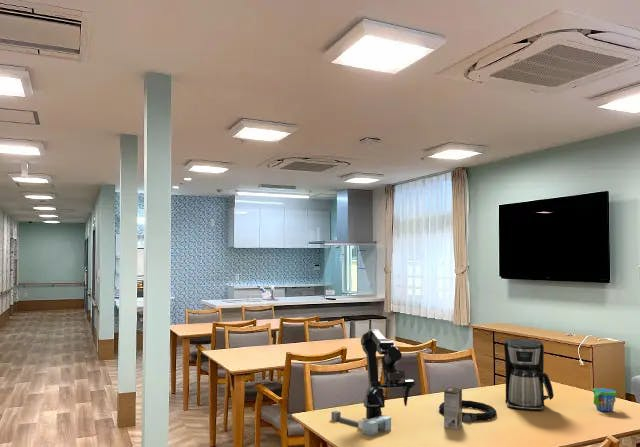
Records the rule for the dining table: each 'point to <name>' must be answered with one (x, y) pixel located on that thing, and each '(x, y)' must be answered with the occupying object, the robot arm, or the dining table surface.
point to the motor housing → (376, 425)
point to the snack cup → (604, 399)
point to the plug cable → (337, 417)
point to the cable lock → (474, 416)
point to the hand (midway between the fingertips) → (394, 406)
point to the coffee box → (452, 408)
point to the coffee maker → (525, 374)
